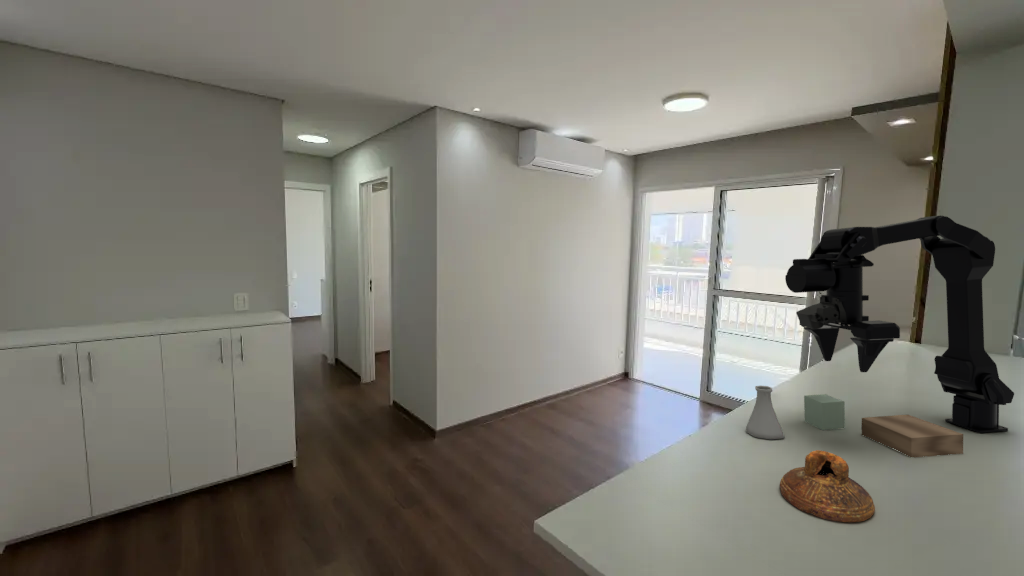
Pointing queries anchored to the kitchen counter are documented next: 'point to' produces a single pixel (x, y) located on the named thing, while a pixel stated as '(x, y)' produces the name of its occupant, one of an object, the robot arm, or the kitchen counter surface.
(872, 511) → the brown clay lid
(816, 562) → the kitchen counter surface
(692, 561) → the kitchen counter surface
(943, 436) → the walnut block
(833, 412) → the sage cube
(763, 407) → the flask
